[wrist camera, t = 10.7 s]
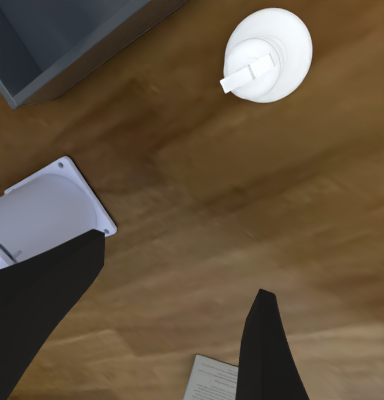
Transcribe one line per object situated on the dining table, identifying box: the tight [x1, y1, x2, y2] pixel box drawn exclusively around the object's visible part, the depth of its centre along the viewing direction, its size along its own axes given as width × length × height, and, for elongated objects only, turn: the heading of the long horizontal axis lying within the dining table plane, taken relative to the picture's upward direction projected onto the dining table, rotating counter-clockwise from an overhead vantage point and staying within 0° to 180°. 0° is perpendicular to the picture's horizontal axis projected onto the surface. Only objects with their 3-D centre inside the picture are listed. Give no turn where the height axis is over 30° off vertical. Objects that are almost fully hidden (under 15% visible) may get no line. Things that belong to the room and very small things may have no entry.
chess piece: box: [220, 8, 312, 103], centre depth 13 cm, size 5×5×10 cm
